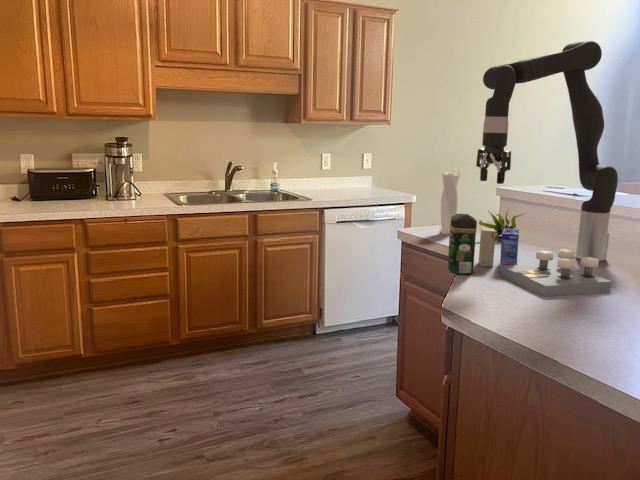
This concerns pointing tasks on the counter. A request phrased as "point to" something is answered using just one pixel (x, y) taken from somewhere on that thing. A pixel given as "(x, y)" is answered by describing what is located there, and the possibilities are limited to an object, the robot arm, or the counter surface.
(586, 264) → the button
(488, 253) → the skincare box
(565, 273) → the button
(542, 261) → the button
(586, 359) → the counter surface
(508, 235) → the ink cartridge box
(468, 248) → the coffee jar
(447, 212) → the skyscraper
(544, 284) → the board
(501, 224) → the decorative plant
